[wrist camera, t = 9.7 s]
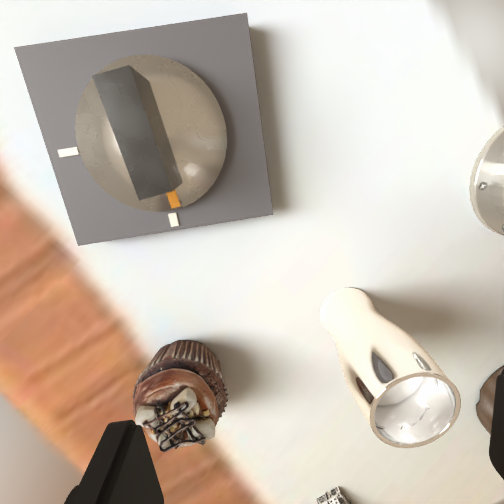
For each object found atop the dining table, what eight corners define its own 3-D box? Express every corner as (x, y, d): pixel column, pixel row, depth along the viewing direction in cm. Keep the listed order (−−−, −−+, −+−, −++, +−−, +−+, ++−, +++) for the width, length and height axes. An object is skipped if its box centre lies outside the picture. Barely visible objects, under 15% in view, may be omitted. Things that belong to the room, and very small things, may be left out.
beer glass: (360, 272, 37) (444, 353, 22) (385, 320, 39) (477, 423, 24) (304, 303, 37) (351, 401, 23) (331, 348, 39) (389, 465, 25)
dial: (55, 81, 26) (1, 61, 20) (202, 39, 26) (193, 5, 20) (114, 225, 30) (84, 246, 24) (243, 189, 30) (247, 200, 24)
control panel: (245, 25, 29) (247, 11, 26) (269, 208, 34) (273, 215, 31) (35, 57, 28) (12, 46, 25) (90, 237, 33) (77, 246, 30)
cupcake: (125, 361, 38) (91, 433, 28) (195, 317, 37) (184, 376, 27) (177, 416, 41) (161, 498, 31) (243, 376, 40) (248, 449, 30)
